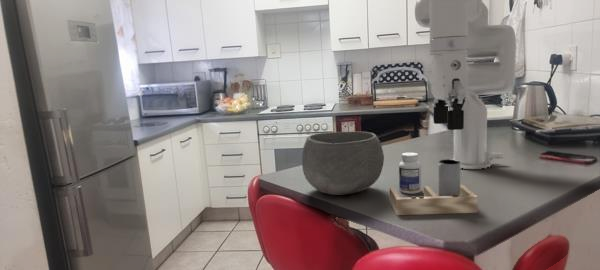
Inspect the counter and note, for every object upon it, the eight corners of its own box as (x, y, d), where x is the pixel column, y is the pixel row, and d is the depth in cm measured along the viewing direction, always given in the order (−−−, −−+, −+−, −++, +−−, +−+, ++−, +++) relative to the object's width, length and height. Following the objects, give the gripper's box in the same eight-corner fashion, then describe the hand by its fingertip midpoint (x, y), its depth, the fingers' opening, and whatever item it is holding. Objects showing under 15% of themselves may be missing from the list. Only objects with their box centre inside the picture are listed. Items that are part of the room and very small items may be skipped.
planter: (435, 203, 92) (435, 160, 91) (454, 202, 92) (454, 158, 91) (443, 210, 88) (443, 164, 86) (463, 208, 88) (464, 163, 86)
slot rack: (462, 199, 94) (462, 183, 94) (477, 212, 85) (477, 195, 85) (389, 201, 95) (389, 186, 94) (397, 215, 86) (396, 198, 86)
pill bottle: (403, 187, 106) (403, 151, 105) (423, 189, 103) (423, 152, 102) (396, 192, 102) (395, 155, 100) (416, 195, 99) (416, 156, 97)
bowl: (385, 181, 112) (384, 129, 110) (383, 206, 92) (382, 142, 90) (311, 180, 117) (309, 130, 115) (294, 204, 97) (291, 143, 95)
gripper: (482, 43, 76) (481, 131, 79) (452, 48, 93) (451, 120, 96) (442, 45, 77) (442, 133, 79) (419, 50, 94) (420, 122, 97)
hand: (447, 126), depth 88 cm, fingers open, 9 cm apart
